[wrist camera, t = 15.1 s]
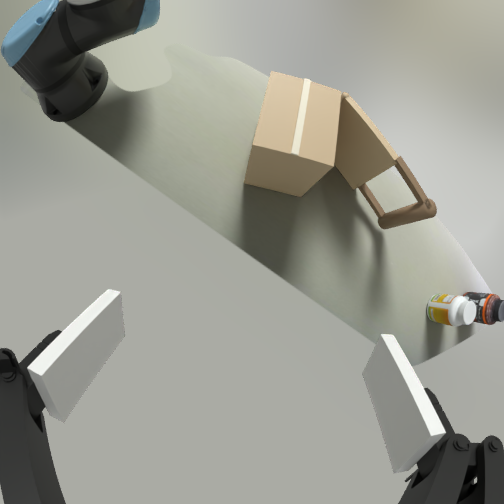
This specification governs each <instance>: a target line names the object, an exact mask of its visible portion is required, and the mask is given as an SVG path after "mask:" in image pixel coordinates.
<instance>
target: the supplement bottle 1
mask: <svg viewBox="0 0 504 504" xmlns="http://www.w3.org/2000/svg"><path fill="white" fill-rule="evenodd" d="M427 315H428V317H429V319H430V320H431V321H433V322H437V323H442V324H446V325H451V326H456V327H457V326H461V325H462V324H465V325H469V324H471V323H472V322H473V321H474V319H475V316H476V305H475V303H474V302H473V301H467V299H466V298H465V297H463V296H456V295H445V294H435V295H434V296H432V297H431V298H430V300H429V302H428V305H427Z"/></svg>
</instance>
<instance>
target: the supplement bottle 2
mask: <svg viewBox="0 0 504 504" xmlns="http://www.w3.org/2000/svg"><path fill="white" fill-rule="evenodd" d="M463 297H465V298H466V299H467V301H473V302H474V303H475V305H476V316H475V319H474V321H473V322H478V323H482V324H488V325H492V324H494V323H495V322H496V321H500V322H502V321H504V300H500V298H499V296H498V295H495V294H486V293H475V292H467V293H465V294H464V295H463Z"/></svg>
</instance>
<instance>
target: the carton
mask: <svg viewBox="0 0 504 504" xmlns="http://www.w3.org/2000/svg"><path fill="white" fill-rule="evenodd" d="M340 101H341V91H338V90H335V89H333V88H330V87H327V86H324V85H320V84H317V83H314V82H311V80H309V79H306V78H304V79H301V78H296V77H293V76H289V75H286V74H282V73H278V72H273V71H271V74H270V78H269V81H268V85H267V89H266V93H265V97H264V101H263V104H262V108H261V112H260V116H259V120H258V124H257V128H256V132H255V136H254V140H253V144H252V149H251V153H250V157H249V162H248V166H247V171H246V175H245V180H244V184H249V185H253V186H257V187H262V188H266V189H270V190H274V191H278V192H282V193H286V194H290V195H294V196H298V197H302V196H303V195H304V194H305V193H306V192H307V191H308V190H309V189H310V188H311V187H312V186H313V185H314V184H315V183H317V182H318V181H319V180H320V179H321V178H322V177H323V176H324V175H325V174H326V173H327V172H328V171H329V170H330V169H332V168H333V167H334V160H335V152H336V143H337V134H338V124H339V113H340Z"/></svg>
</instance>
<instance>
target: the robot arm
mask: <svg viewBox="0 0 504 504" xmlns="http://www.w3.org/2000/svg"><path fill="white" fill-rule="evenodd" d="M159 14H160V0H62V1H60V2H59V0H42V1H40V2H38V3H37V4H35V5H34V6H33V7H31V8H30V9H29V10H28V11H27V12H26V13H24V14H23V15H22V16H21V17H20V18H19V19H18V21H17V22H16V23H15V24H14V26H12V28H11V29H10V30H9V32H8V34H7V35H6V37H5V39H4V41H3V43H2V46H1V53H2V56H3V57H4V58H5V60H6V61H7V63H8V65H9V66H10V67H12V68H13V69H14V70H15V71H16V72H17V73H18V74H19V75H20V76H21V77H22V78H23V79H24V80H25V81H26V82H27V83H28V84H29V85H30V86H31V87H32V88H33V89H34V90H35V91H36V93H37V96H38V99H39V102H40V105H41V107H42V110H43V112H44V113H45V114H46V115H47V116H48V117H49V118H50V119H51V120H53V121H57V122H64V121H68V120H71V119H73V118H75V117H77V116H79V115H81V114H82V113H84V112H85V111H86V110H87V109H89V108H90V107H91V106H92V105H93V104H94V103H95V102H96V101H97V99H98V98H99V97H100V96H101V94H102V93H103V91H104V89H105V87H106V84H107V81H108V72H107V70H106V67H105V65H104V64H103V62H102V61H101V60H99V59H98V58H97V57H95V56H93V55H92V54H90V53H89V52H87V51H89V50H91V49H93V48H96V47H98V46H101V45H103V44H106V43H109V42H111V41H114V40H117V39H119V38H122V37H125V36H128V35H131V34H136V33H137V32H139V31H142V30H144V29H147V28H149V27H152V26H154V25H155V24H156V23H157V21H158V19H159ZM124 337H125V331H124V322H123V311H122V298H121V292H119V291H115V290H111V289H108V290H107V291H106V292H105V293H103V294H102V295H101V296H100V297H99V298H98V299H97V300H96V301H95V302H93V303H92V304H91V305H90V306H89V307H88V308H87V309H86V310H85V311H84V312H83V313H82V314H81V315H79V316H78V317H77V318H76V319H75V320H74V321H73V322H72V323H71V324H70V325H69V326H68V327H67V328H66V329H65V330H64V331H63V332H62V331H60V330H57V331H55V332H53V333H51V334H49V335H48V336H47V337H46V338H44V339H43V341H42V343H39V344H38V345H37V347H35V348H34V349H33V350H32V351H31V352H30V353H29V354H28V355H27V356H26V357H25V358H24V359H23V360H22V361H21V362H20V363H19V364H18V361H17V359H16V356H15V354H14V353H13V352H12V351H11V350H9V349H7V348H1V349H0V485H1V490H2V495H3V499H4V504H66V503H65V500H64V497H63V494H62V491H61V488H60V485H59V482H58V479H57V475H56V472H55V468H54V464H53V460H52V456H51V452H50V448H49V443H48V438H47V433H46V427H45V421H44V416H43V413H42V410H43V409H44V408H45V407H46V409H47V411H48V412H49V414H50V415H51V416H53V417H54V418H56V419H58V420H60V421H62V422H63V423H64V422H65V420H66V419H67V417H68V416H69V414H70V412H71V411H72V410H73V408H74V407H75V405H76V404H77V402H78V401H79V399H80V398H81V397H82V395H83V394H84V392H85V391H86V389H87V388H88V386H89V385H90V384H91V382H92V381H93V379H94V378H95V376H96V375H97V373H98V372H99V371H100V369H101V368H102V367H103V365H104V364H105V362H106V361H107V360H108V358H109V357H110V356H111V354H112V353H113V352H114V350H115V349H116V347H117V346H118V345H119V343H120V342H121V341H122V339H123V338H124ZM362 375H363V378H364V380H365V383H366V386H367V389H368V392H369V395H370V398H371V401H372V404H373V407H374V409H375V412H376V416H377V419H378V422H379V425H380V428H381V431H382V435H383V438H384V441H385V444H386V448H387V451H388V454H389V458H390V461H391V465H392V468H393V472H394V473H398V472H403V471H408V470H409V469H411V467H413V466H414V465H415V464H416V463H417V466H418V469H417V470H416V471H415V472H414V473H412V474H411V475H410V476H409V477H408V478H407V479H406V480H405V482H407V481H408V480H410V479H411V481H410V483H409V485H408V486H407V489H406V490H405V492H404V494H403V496H402V498H401V500H400V502H399V503H398V504H504V449H503V445H502V442H501V441H500V439H499V438H497V437H495V436H488V437H486V438H485V439H484V440H483V441H482V443H470V441H469V440H468V438H467V437H465V436H464V435H462V434H455V432H454V430H453V429H452V427H451V424H450V422H449V421H448V419H447V417H446V415H445V413H444V411H442V407H441V405H439V402H438V400H437V398H436V396H435V395H434V394H433V393H432V392H431V391H430V390H429V389H428V388H423V386H422V385H421V383H420V381H419V379H418V377H417V375H416V374H415V372H414V370H413V368H412V366H411V365H410V363H409V361H408V359H407V358H406V356H405V354H404V353H403V351H402V349H401V347H400V346H399V344H398V342H397V341H396V339H395V337H394V336H393V335H387V334H380V337H379V339H378V341H377V344H376V346H375V348H374V350H373V352H372V355H371V357H370V359H369V361H368V363H367V365H366V367H365V369H364V371H363V373H362ZM476 477H477V483H475V484H474V479H475V478H476Z"/></svg>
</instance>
